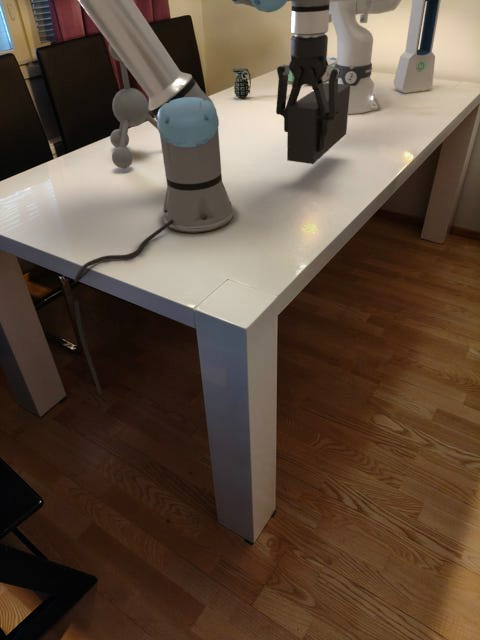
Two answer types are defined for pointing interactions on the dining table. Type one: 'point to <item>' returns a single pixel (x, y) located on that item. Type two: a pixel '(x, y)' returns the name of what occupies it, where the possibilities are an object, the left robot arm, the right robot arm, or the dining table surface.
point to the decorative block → (331, 62)
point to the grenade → (242, 83)
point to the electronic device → (419, 63)
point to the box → (314, 125)
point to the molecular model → (127, 116)
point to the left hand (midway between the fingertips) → (305, 147)
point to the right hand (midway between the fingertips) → (345, 22)
